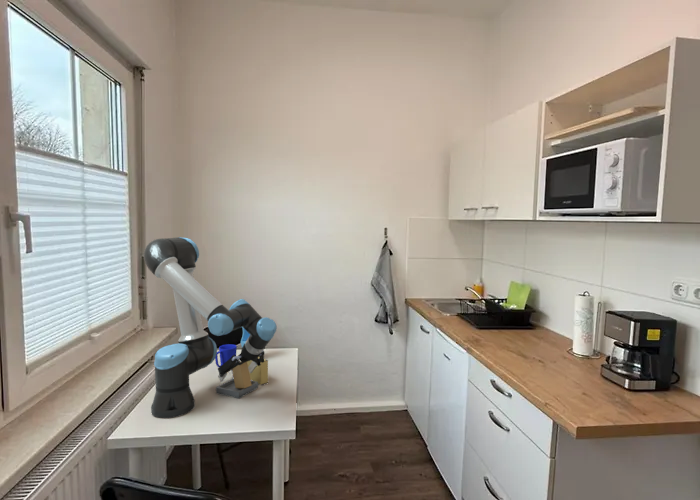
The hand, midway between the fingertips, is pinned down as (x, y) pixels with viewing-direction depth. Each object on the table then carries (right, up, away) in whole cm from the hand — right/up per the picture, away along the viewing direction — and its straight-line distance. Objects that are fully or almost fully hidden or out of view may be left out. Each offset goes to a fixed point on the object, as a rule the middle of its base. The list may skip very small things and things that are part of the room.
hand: (235, 374), depth 175 cm
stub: (+4, -4, -2) cm, 6 cm away
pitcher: (-2, -4, +37) cm, 37 cm away
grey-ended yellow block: (+7, -6, +10) cm, 14 cm away
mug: (-12, -5, +25) cm, 28 cm away
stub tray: (+1, -6, -1) cm, 7 cm away
